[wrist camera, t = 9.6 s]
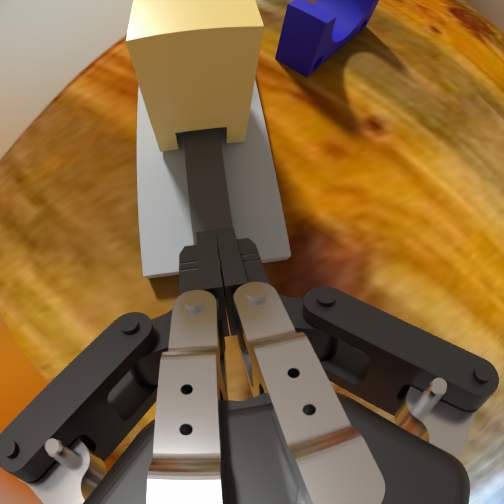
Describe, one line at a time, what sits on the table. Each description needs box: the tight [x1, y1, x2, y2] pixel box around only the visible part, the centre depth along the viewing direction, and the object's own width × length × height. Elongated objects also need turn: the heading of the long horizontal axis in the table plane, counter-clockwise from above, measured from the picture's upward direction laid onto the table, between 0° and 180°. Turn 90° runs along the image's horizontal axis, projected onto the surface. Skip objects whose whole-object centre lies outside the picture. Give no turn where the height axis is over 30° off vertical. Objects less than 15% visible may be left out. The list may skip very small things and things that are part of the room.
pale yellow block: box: [126, 0, 264, 152], centre depth 14 cm, size 5×5×9 cm
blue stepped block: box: [275, 0, 379, 77], centre depth 20 cm, size 12×4×6 cm, turn 143°
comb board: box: [137, 81, 291, 279], centre depth 17 cm, size 8×16×5 cm, turn 9°
